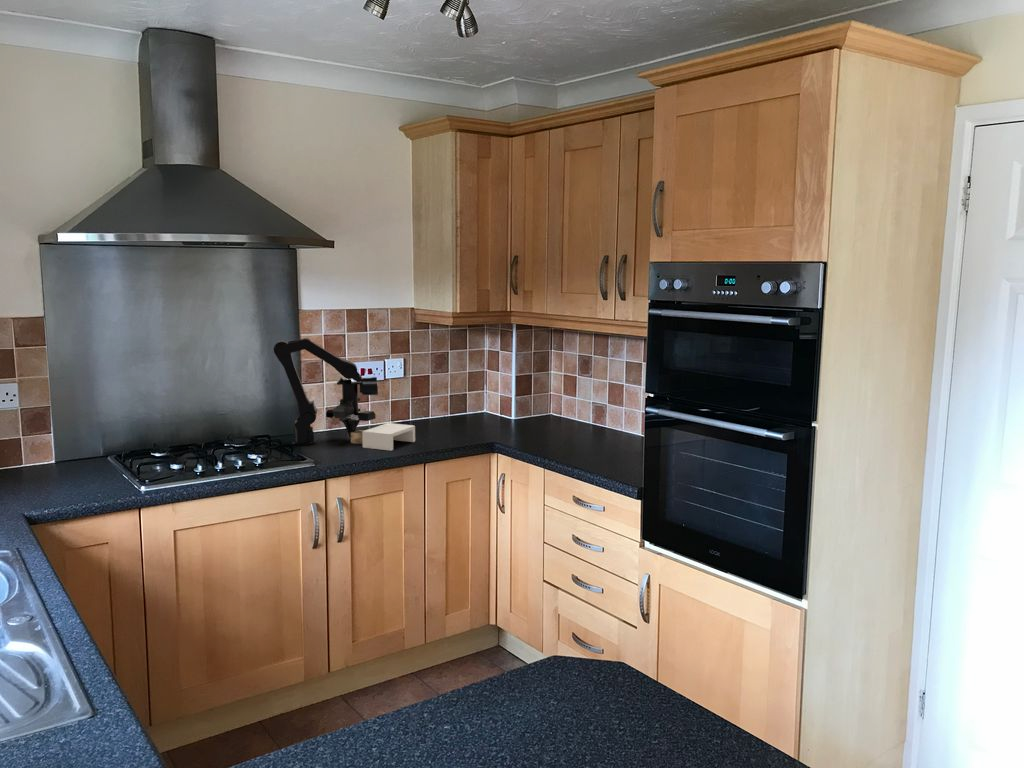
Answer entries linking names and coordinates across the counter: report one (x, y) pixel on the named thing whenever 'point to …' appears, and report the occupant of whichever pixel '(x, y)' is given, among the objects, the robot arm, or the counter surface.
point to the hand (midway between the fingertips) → (351, 436)
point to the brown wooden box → (357, 437)
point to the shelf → (387, 435)
